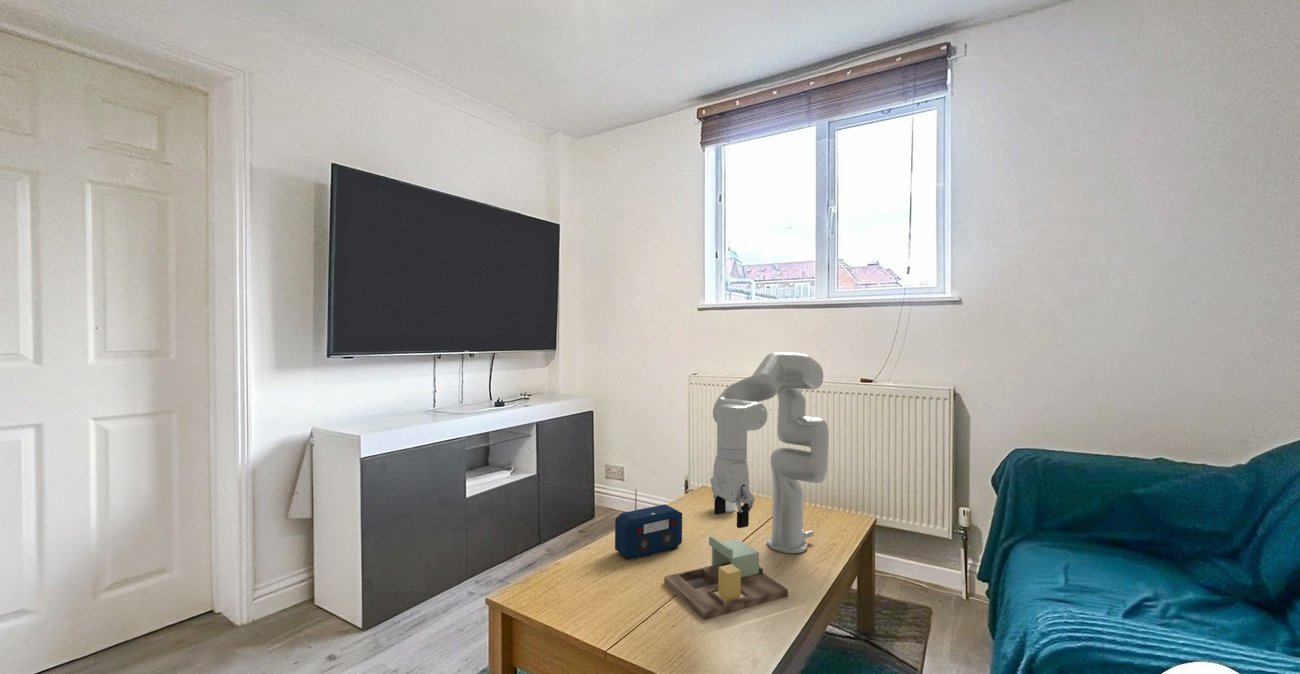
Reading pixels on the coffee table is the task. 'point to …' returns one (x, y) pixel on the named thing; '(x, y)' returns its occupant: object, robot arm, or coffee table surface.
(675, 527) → the radio
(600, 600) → the coffee table surface
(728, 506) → the cup
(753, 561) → the cover
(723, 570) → the block
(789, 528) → the robot arm
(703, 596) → the puzzle board
